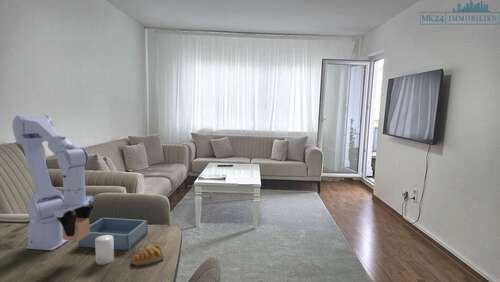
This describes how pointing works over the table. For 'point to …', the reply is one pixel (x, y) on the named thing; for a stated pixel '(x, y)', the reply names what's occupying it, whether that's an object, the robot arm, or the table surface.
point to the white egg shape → (104, 249)
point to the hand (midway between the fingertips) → (76, 231)
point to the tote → (116, 232)
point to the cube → (79, 230)
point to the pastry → (148, 255)
